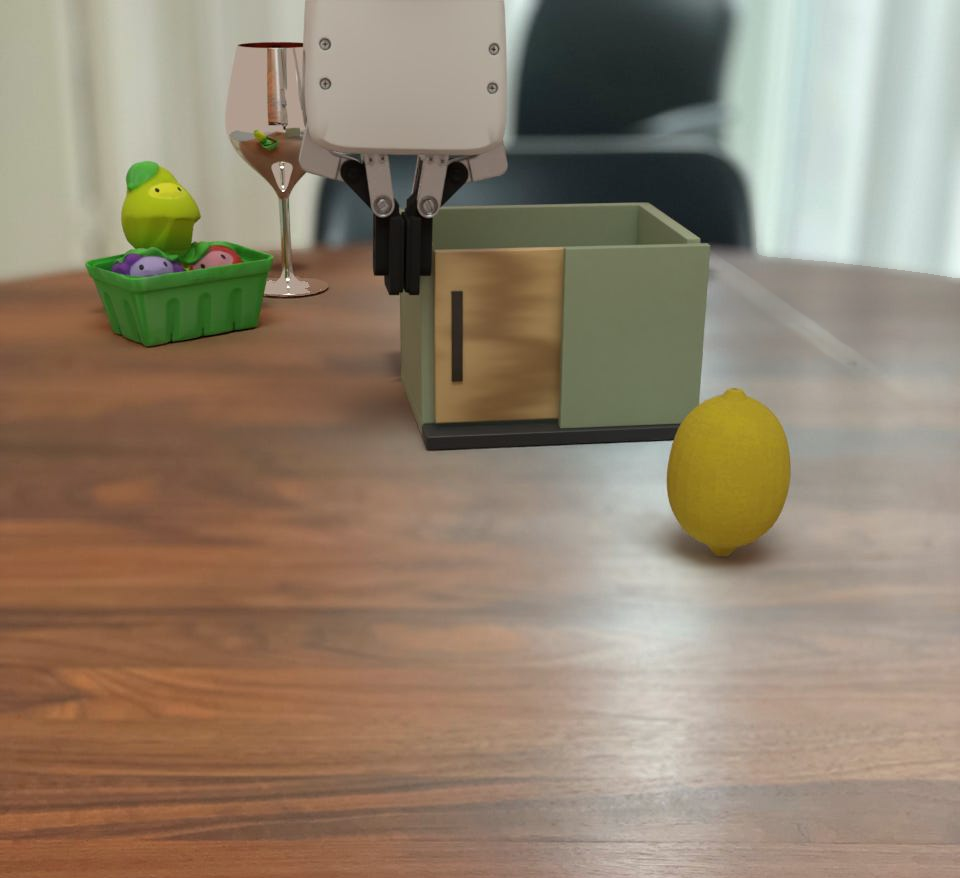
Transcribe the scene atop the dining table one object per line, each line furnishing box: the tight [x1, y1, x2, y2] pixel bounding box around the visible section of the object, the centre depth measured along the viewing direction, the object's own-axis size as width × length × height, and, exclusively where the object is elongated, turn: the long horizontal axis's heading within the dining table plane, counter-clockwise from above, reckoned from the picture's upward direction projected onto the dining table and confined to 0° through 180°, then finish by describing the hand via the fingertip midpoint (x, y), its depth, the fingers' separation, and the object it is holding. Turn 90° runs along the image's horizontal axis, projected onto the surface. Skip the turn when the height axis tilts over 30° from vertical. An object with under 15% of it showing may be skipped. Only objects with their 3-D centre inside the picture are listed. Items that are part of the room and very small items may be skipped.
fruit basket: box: [84, 160, 274, 347], centre depth 105 cm, size 11×9×11 cm
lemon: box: [666, 387, 792, 557], centre depth 68 cm, size 6×6×8 cm
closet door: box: [433, 247, 564, 423], centre depth 83 cm, size 8×1×10 cm, turn 99°
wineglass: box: [224, 41, 321, 296], centre depth 115 cm, size 8×8×18 cm
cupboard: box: [399, 201, 711, 451], centre depth 88 cm, size 16×14×11 cm
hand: (401, 289), depth 80 cm, fingers closed
